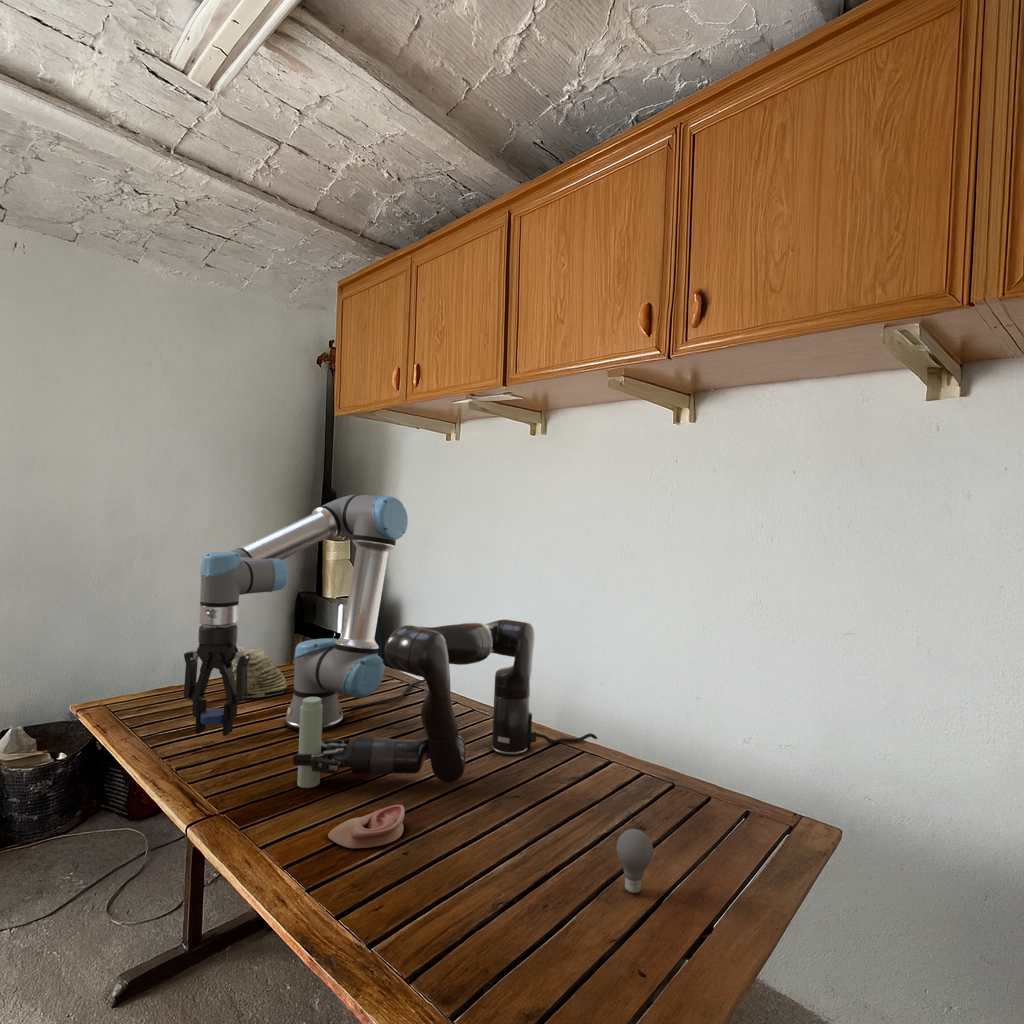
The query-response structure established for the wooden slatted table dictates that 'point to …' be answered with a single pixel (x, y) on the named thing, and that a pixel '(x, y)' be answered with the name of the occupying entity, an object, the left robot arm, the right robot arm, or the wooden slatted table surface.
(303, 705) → the jar
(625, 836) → the light bulb
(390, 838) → the anatomical model
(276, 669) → the fossil
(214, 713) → the lid
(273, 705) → the wooden slatted table surface
